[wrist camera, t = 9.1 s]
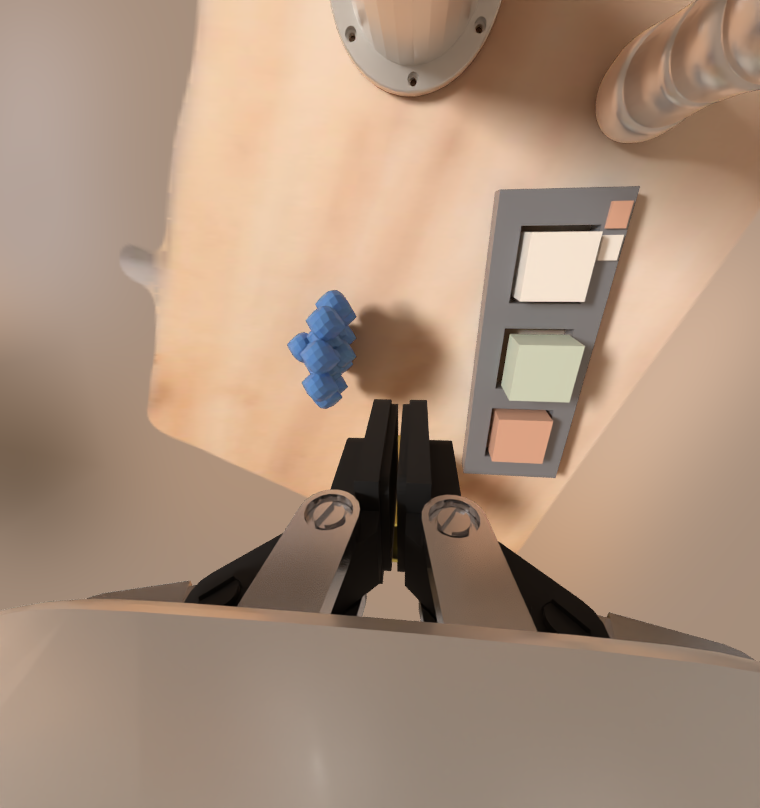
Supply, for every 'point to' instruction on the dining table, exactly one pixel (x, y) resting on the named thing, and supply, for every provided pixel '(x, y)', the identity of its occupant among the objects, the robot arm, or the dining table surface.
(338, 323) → the blue flower rosette
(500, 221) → the keypad board
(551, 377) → the key sage
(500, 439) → the key terracotta
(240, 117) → the dining table surface
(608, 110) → the plastic bottle
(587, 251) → the key ivory
